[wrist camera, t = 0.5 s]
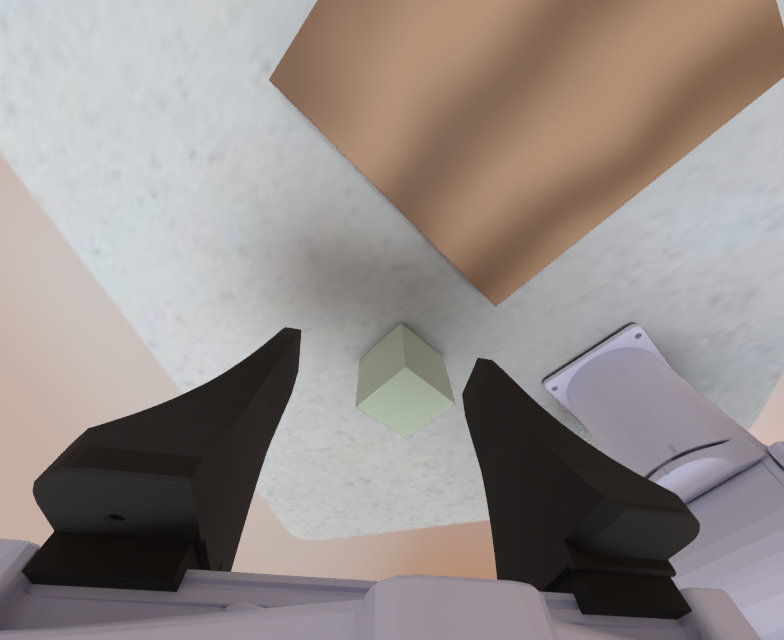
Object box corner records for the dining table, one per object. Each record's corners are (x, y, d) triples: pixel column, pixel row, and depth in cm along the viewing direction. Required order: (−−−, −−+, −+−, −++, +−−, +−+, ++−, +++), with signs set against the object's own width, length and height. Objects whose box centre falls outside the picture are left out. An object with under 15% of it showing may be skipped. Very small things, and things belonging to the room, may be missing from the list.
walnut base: (738, 76, 16) (794, 68, 14) (484, 289, 21) (495, 306, 19) (578, -372, 10) (633, -513, 8) (284, 86, 15) (268, 79, 13)
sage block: (442, 355, 24) (455, 404, 20) (401, 388, 26) (405, 438, 22) (401, 322, 23) (405, 366, 18) (360, 358, 24) (355, 407, 20)
